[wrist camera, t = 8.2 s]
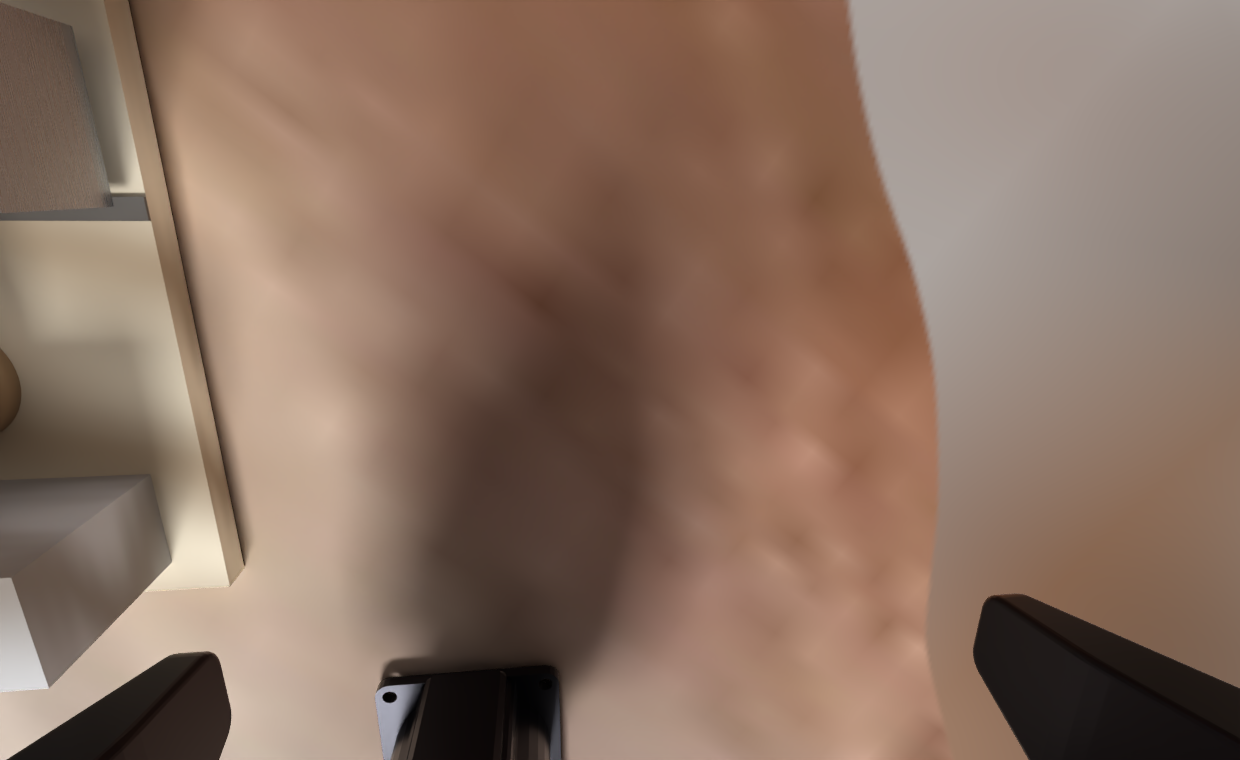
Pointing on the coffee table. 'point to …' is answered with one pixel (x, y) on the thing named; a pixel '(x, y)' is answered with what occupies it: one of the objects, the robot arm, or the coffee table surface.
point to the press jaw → (46, 119)
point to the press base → (103, 390)
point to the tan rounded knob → (8, 392)
